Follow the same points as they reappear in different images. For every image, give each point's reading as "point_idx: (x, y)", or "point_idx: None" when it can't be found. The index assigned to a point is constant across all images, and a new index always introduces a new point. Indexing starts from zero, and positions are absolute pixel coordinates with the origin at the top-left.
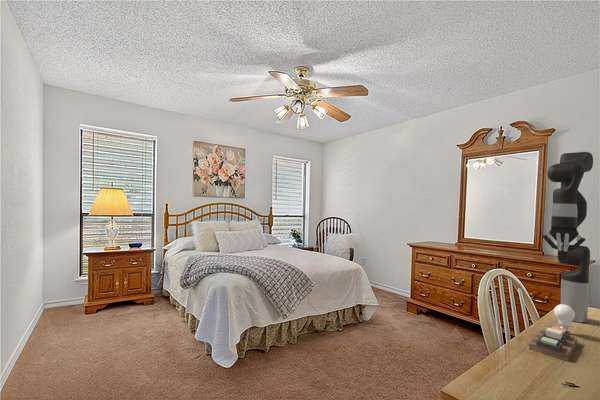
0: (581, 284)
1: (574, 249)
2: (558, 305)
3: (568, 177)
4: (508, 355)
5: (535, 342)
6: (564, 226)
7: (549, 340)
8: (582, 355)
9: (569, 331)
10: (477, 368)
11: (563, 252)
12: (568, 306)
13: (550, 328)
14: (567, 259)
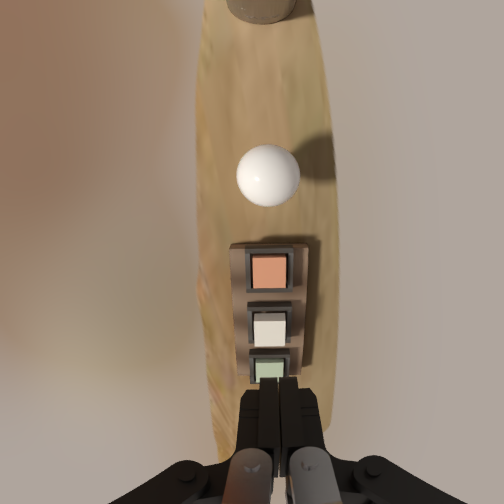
0: None
1: (384, 465)
2: (250, 187)
3: None
4: (225, 411)
5: (244, 363)
6: None
7: (269, 374)
8: (320, 315)
9: (291, 248)
10: (218, 456)
11: (285, 469)
12: (282, 181)
13: (259, 325)
14: (310, 392)
